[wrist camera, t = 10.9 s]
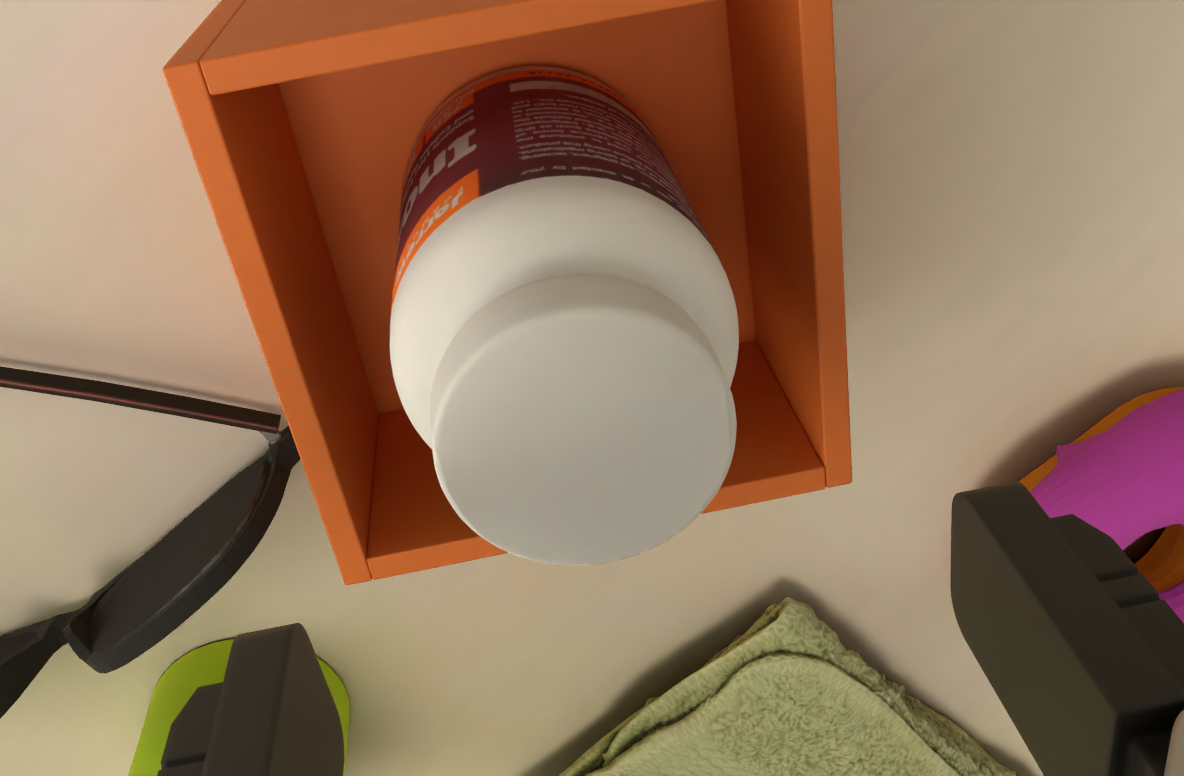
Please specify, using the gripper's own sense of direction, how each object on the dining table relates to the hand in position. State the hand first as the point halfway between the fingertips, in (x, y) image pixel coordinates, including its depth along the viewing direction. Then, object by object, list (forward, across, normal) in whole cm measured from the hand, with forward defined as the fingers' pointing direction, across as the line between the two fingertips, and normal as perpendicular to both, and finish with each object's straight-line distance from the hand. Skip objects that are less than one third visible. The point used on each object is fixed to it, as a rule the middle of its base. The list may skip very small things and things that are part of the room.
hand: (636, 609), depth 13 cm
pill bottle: (+15, 0, 0) cm, 15 cm away
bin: (+15, 0, 0) cm, 15 cm away
